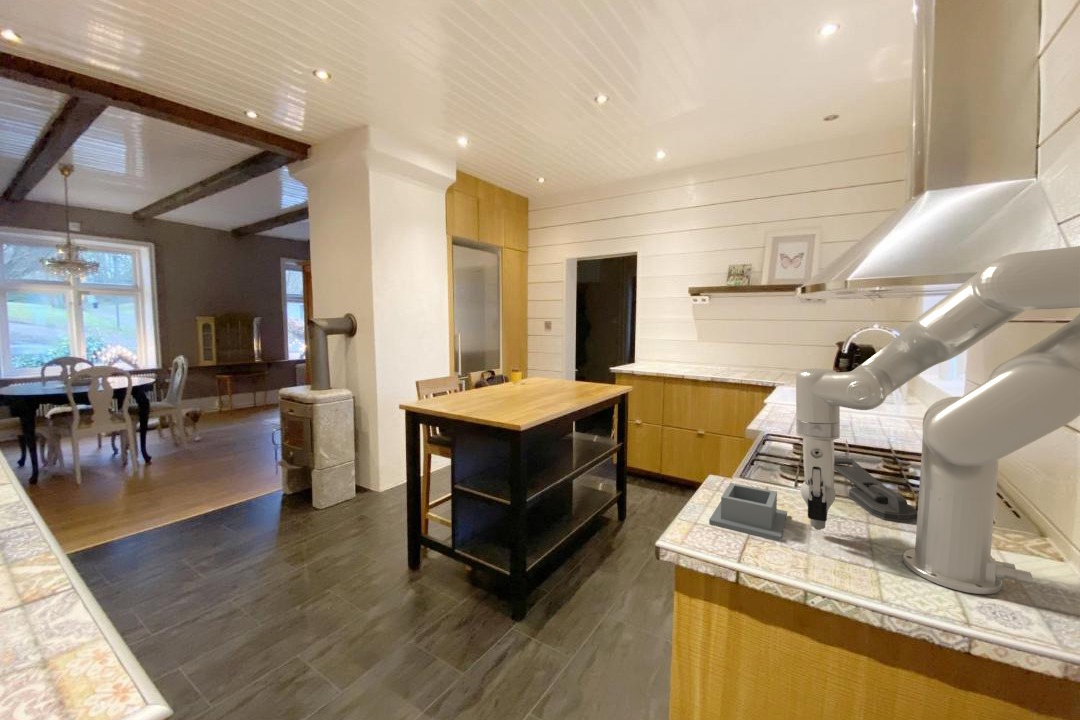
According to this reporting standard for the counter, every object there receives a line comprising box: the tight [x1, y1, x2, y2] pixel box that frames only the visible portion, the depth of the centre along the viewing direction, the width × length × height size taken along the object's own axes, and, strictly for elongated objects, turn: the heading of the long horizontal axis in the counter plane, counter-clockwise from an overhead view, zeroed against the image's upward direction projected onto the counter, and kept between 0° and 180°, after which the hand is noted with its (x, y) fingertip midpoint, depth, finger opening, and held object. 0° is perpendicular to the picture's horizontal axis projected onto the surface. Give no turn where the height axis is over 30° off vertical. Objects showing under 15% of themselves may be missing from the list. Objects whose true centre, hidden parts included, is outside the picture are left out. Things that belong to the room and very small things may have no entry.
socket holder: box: [708, 482, 788, 542], centre depth 97 cm, size 14×14×6 cm
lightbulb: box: [800, 480, 837, 531], centre depth 89 cm, size 6×6×11 cm
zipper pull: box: [834, 457, 918, 523], centre depth 107 cm, size 9×7×25 cm
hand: (817, 512), depth 89 cm, fingers closed on lightbulb, 5 cm apart
